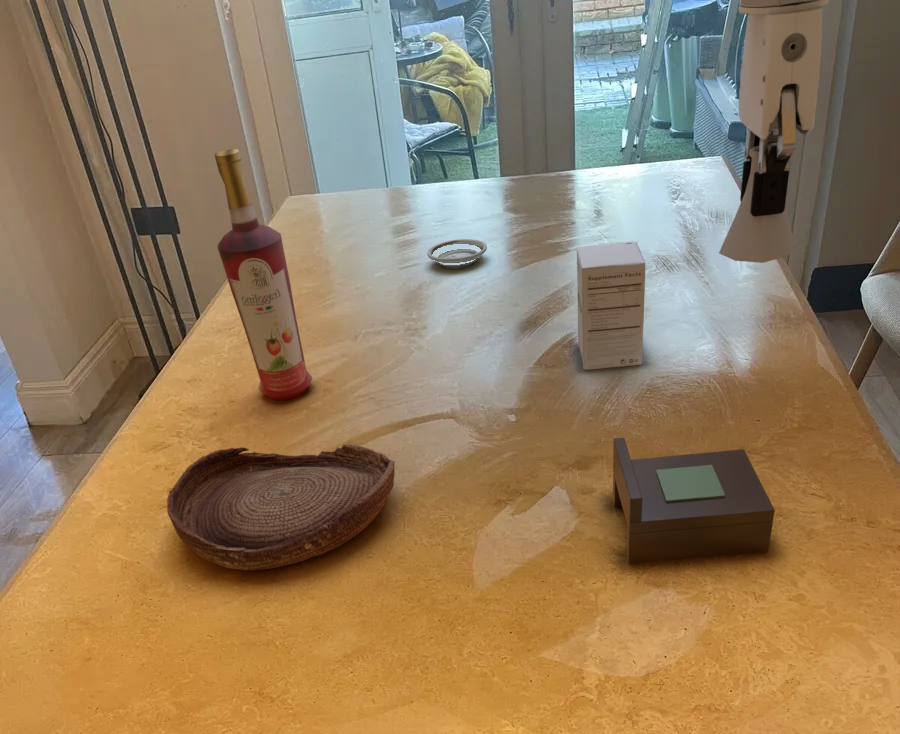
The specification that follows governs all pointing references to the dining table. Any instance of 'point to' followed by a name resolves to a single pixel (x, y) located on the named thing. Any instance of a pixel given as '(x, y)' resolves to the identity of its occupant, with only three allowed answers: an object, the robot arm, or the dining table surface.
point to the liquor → (261, 288)
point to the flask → (757, 229)
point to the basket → (277, 504)
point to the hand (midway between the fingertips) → (761, 206)
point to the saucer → (458, 253)
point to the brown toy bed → (690, 505)
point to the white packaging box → (610, 304)
